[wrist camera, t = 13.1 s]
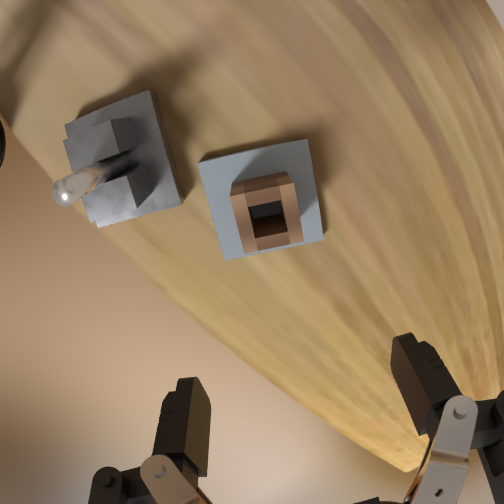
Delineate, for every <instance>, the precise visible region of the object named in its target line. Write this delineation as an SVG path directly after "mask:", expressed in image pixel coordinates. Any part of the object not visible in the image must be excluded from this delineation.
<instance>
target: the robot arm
mask: <svg viewBox="0 0 504 504" xmlns="http://www.w3.org/2000/svg"><path fill="white" fill-rule="evenodd" d="M391 370H392V374H393V376H394V379H395V381H396V383H397V385H398V388H399V390H400V392H401V394H402V397H403V399H404V401H405V404H406V406H407V408H408V411H409V413H410V415H411V418H412V420H413V423H414V425H415V427H416V430H417V432H418V435H419V436H421V435H423V434H426V433H427V434H428V437H429V441H428V444H427V447H426V450H425V453H424V455H423V458H422V461H421V463H420V466H419V468H418V471H417V473H416V476H415V478H414V480H413V483H412V485H411V486H410V488H409V490H408V492H407V494H406V496H405V498H404V501H403V503H398V502H391V501H379V497H376V498H373V499H369V500H366V501H362V502H358V503H354V504H457V501H458V498H459V496H460V493H461V490H462V487H463V484H464V481H465V477H466V474H467V471H468V467H469V461H468V453H469V450H470V449H477V451H478V454H479V457H480V459H481V462H482V465H483V468H484V470H485V473H486V476H487V479H488V482H489V485H490V488H491V491H492V494H493V498H494V501H495V504H504V390H503V391H502V392H500V394H499V395H498V397H497V398H496V399H490V400H484V401H474V400H473V399H472V398H470V397H468V396H464V395H463V394H462V393H461V392H460V390H459V388H458V386H457V385H456V383H455V381H454V380H453V378H452V376H451V374H450V373H449V371H448V369H447V368H446V366H444V363H443V361H442V359H440V356H439V355H438V353H437V351H436V350H435V348H434V347H433V346H431V345H430V344H428V343H427V342H426V341H422V342H419V343H418V341H417V340H416V338H415V336H414V335H413V334H412V333H411V332H409V333H406V334H403V335H400V336H396V337H394V338H393V344H392V353H391ZM210 419H211V404H210V400H209V397H208V395H207V394H206V392H205V390H204V388H203V386H202V384H201V382H200V380H199V379H198V378H197V377H189V378H180V379H178V382H177V387H176V391H173V392H169V393H168V394H167V396H166V397H165V399H164V400H163V402H162V407H161V414H160V417H159V423H158V427H157V432H156V437H155V442H154V448H153V453H152V456H151V457H149V458H147V459H146V460H145V461H144V462H143V464H142V466H140V467H137V468H134V469H130V470H126V471H121V472H120V471H118V470H117V469H116V468H113V467H103V468H101V469H100V470H98V471H97V472H96V474H95V475H94V477H93V481H92V486H91V491H90V496H89V502H88V504H213V503H212V502H211V501H210V500H209V498H208V497H207V496H206V495H205V494H204V493H203V491H202V490H201V489H200V487H198V477H207V467H208V450H209V435H210Z"/></svg>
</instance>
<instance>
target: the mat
mask: <svg viewBox="0 0 504 504" xmlns="http://www.w3.org/2000/svg"><path fill="white" fill-rule="evenodd" d="M197 164H198V167H199V171H200V175H201V178H202V182H203V186H204V189H205V193H206V196H207V200H208V204H209V207H210V211H211V214H212V218H213V221H214V225H215V228H216V232H217V235H218V239H219V242H220V246H221V249H222V252H223V256H224V259H225V261H226V260H231V259H236V258H241V257H245V256H250V255H255V254H260V253H264V252H269V251H274V250H279V249H284V248H288V247H293V246H298V245H303V244H307V243H312V242H317V241H322V240H324V239H323V231H322V224H321V217H320V210H319V203H318V197H317V190H316V184H315V178H314V172H313V166H312V160H311V155H310V149H309V144H308V139H300V140H295V141H289V142H284V143H279V144H274V145H269V146H264V147H259V148H255V149H250V150H245V151H241V152H237V153H232V154H228V155H224V156H220V157H215V158H211V159H207V160H204V161H200V162H198V163H197ZM285 171H286V172H287V173H288V175H289V176H290V178H291V179H292V181H293V182H294V186H295V192H296V197H297V203H298V208H299V214H300V220H301V226H302V232H303V238H304V242H299V243H294V244H289V245H285V246H280V247H275V248H270V249H265V250H261V251H256V252H251V253H246V254H244V251H243V247H242V243H241V239H240V235H239V231H238V227H237V223H236V219H235V216H234V212H233V208H232V204H231V200H230V191H231V185H232V183H233V182H237V181H242V180H246V179H251V178H256V177H260V176H265V175H270V174H275V173H280V172H285ZM251 211H252V216H253V219H256V218H261V217H266V216H271V215H275V214H280V213H282V211H281V206H280V201H274V202H269V203H265V204H260V205H255V206H251Z"/></svg>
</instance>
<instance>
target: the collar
mask: <svg viewBox="0 0 504 504" xmlns="http://www.w3.org/2000/svg"><path fill="white" fill-rule="evenodd" d="M230 200H231V204H232V208H233V212H234V216H235V219H236V223H237V227H238V231H239V235H240V239H241V243H242V247H243V251H244V254H246V253H251V252H256V251H261V250H265V249H270V248H275V247H280V246H285V245H289V244H294V243H299V242H304V238H303V232H302V226H301V220H300V214H299V208H298V203H297V197H296V192H295V186H294V182H293V181H292V179H291V178H290V176H289V175H288V173H287V172H286V171H285V172H280V173H275V174H270V175H265V176H260V177H256V178H251V179H246V180H242V181H237V182H233V183H232V185H231V191H230ZM274 201H280V206H281V211H282V213H280V214H275V215H271V216H266V217H261V218H256V219H253V216H252V211H251V206H255V205H260V204H265V203H269V202H274Z"/></svg>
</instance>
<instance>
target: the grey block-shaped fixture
mask: <svg viewBox="0 0 504 504" xmlns="http://www.w3.org/2000/svg"><path fill="white" fill-rule="evenodd" d="M65 129H66V133H67V136H68V138H67V139H65V140H63V142H64V145H65V149H66V152H67V155H68V159H69V162H70V165H71V168H72V172H73V171H75V170H78V171H76V172H74V173H72V174H70V175H68V176H66V177H64V178H62V179H60V180H58V181H56V182H55V184H54V186H53V197H54V200H55V201H56V202H57V203H58V204H59V205H60V206H63V207H68V206H70V205H71V204H73V203H74V202H76V201H77V200H79V199H80V198H82V201H83V204H84V207H85V209H86V212H87V215H88V217H89V220H90V223H91V222H94V221H95V222H96V224H97V227H98V228H100V227H103V226H107V225H110V224H114V223H117V222H120V221H124V220H127V219H131V218H135V217H138V216H142V215H145V214H149V213H153V212H157V211H160V210H164V209H168V208H172V207H176V206H180V205H182V203H183V202H184V200H185V198H184V195H183V191H182V188H181V185H180V181H179V178H178V174H177V171H176V167H175V164H174V160H173V157H172V153H171V150H170V146H169V142H168V139H167V135H166V131H165V128H164V124H163V120H162V116H161V112H160V109H159V105H158V101H157V97H156V93H155V90H147V91H144V92H141V93H138V94H136V95H133V96H130V97H128V98H125V99H122V100H120V101H117V102H115V103H112V104H110V105H107V106H105V107H103V108H100V109H98V110H96V111H93V112H91V113H89V114H87V115H85V116H82V117H80V118H78V119H76V120H74V121H72V122H70V123H68V124H66V125H65Z"/></svg>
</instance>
